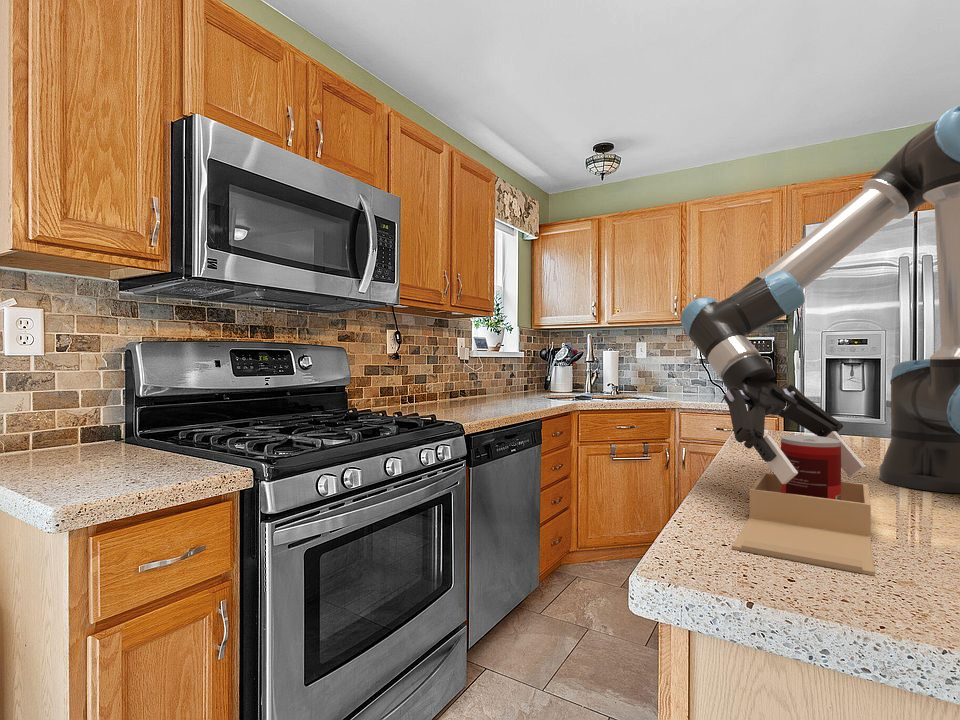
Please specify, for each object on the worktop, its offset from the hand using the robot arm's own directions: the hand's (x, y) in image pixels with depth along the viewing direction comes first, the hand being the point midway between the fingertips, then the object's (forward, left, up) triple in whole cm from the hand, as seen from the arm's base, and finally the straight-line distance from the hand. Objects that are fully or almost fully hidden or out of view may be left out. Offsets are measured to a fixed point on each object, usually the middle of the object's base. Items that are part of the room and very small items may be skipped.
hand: (825, 475), depth 78 cm
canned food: (+1, -2, -6) cm, 7 cm away
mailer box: (+5, +4, -7) cm, 9 cm away
